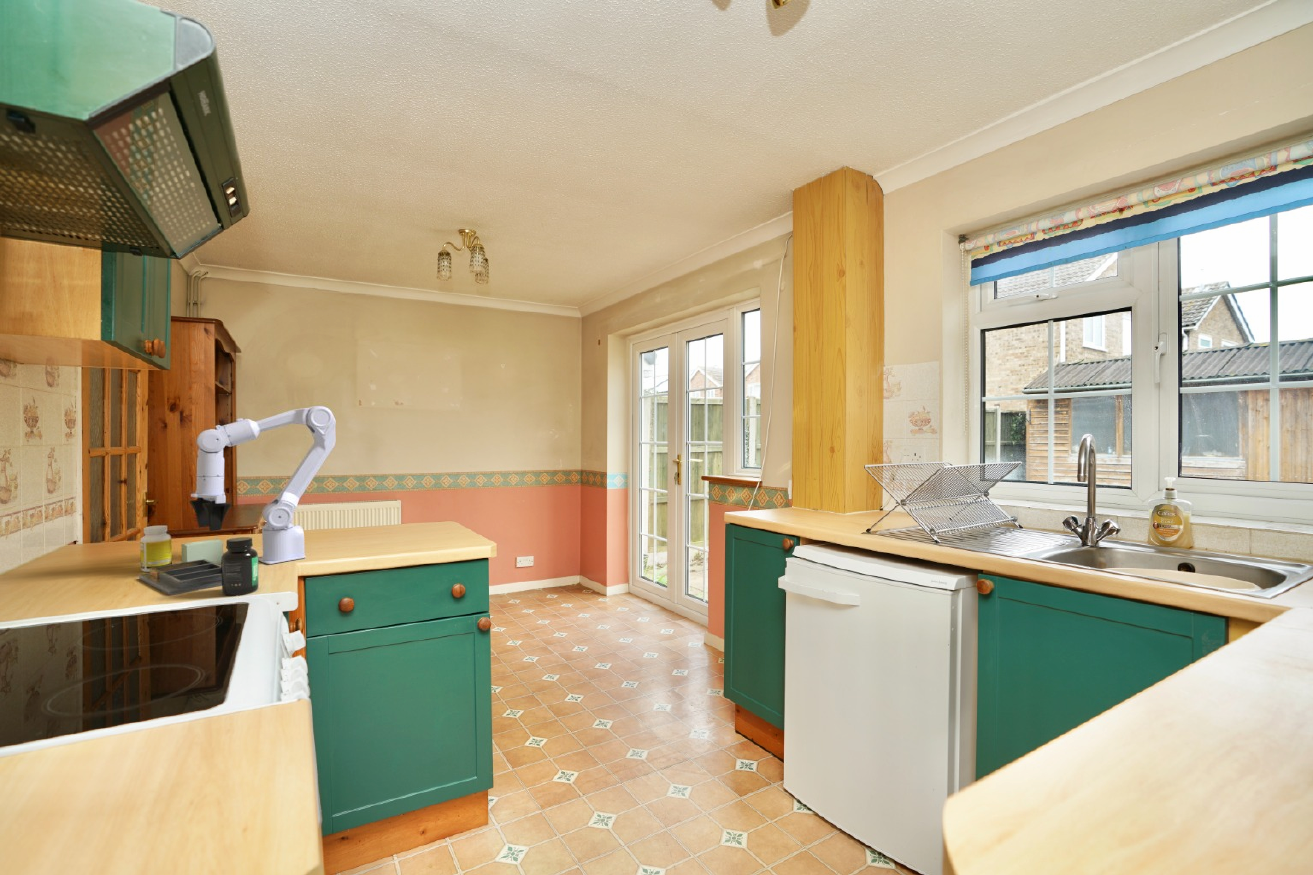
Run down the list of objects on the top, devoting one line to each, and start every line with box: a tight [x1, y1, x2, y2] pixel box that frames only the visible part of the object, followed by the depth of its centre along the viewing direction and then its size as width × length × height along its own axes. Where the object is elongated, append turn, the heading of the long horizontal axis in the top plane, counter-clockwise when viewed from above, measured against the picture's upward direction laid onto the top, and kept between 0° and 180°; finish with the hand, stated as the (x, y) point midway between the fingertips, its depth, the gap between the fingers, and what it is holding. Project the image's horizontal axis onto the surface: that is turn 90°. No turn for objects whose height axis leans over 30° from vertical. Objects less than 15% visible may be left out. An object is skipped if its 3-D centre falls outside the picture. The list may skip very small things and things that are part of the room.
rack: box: [138, 559, 222, 596], centre depth 147 cm, size 15×22×2 cm
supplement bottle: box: [220, 536, 260, 597], centre depth 137 cm, size 7×7×12 cm
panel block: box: [180, 538, 224, 564], centre depth 162 cm, size 8×4×6 cm, turn 144°
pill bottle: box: [139, 525, 173, 573], centre depth 156 cm, size 6×6×11 cm
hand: (209, 528), depth 157 cm, fingers open, 7 cm apart
